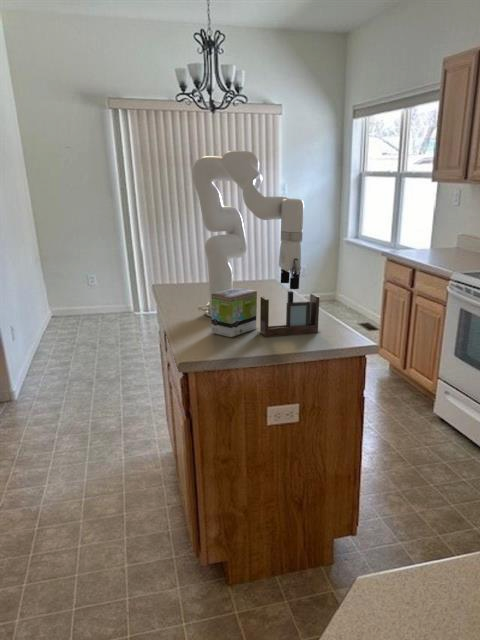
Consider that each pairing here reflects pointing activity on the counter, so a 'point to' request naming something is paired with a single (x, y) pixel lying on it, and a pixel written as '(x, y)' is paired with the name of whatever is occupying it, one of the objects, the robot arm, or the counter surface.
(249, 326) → the tea box
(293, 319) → the sliding pane
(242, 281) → the counter surface
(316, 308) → the window frame
